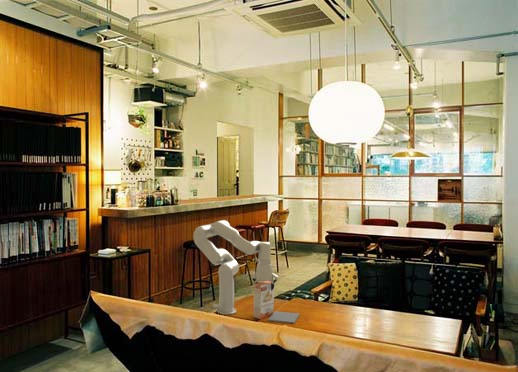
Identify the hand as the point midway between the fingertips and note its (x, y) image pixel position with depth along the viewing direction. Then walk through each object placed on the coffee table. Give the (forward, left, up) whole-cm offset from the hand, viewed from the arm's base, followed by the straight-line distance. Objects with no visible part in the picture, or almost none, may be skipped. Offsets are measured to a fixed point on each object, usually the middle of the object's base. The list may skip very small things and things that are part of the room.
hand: (264, 289), depth 272 cm
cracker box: (0, 0, -17) cm, 17 cm away
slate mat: (+13, 0, -17) cm, 21 cm away
